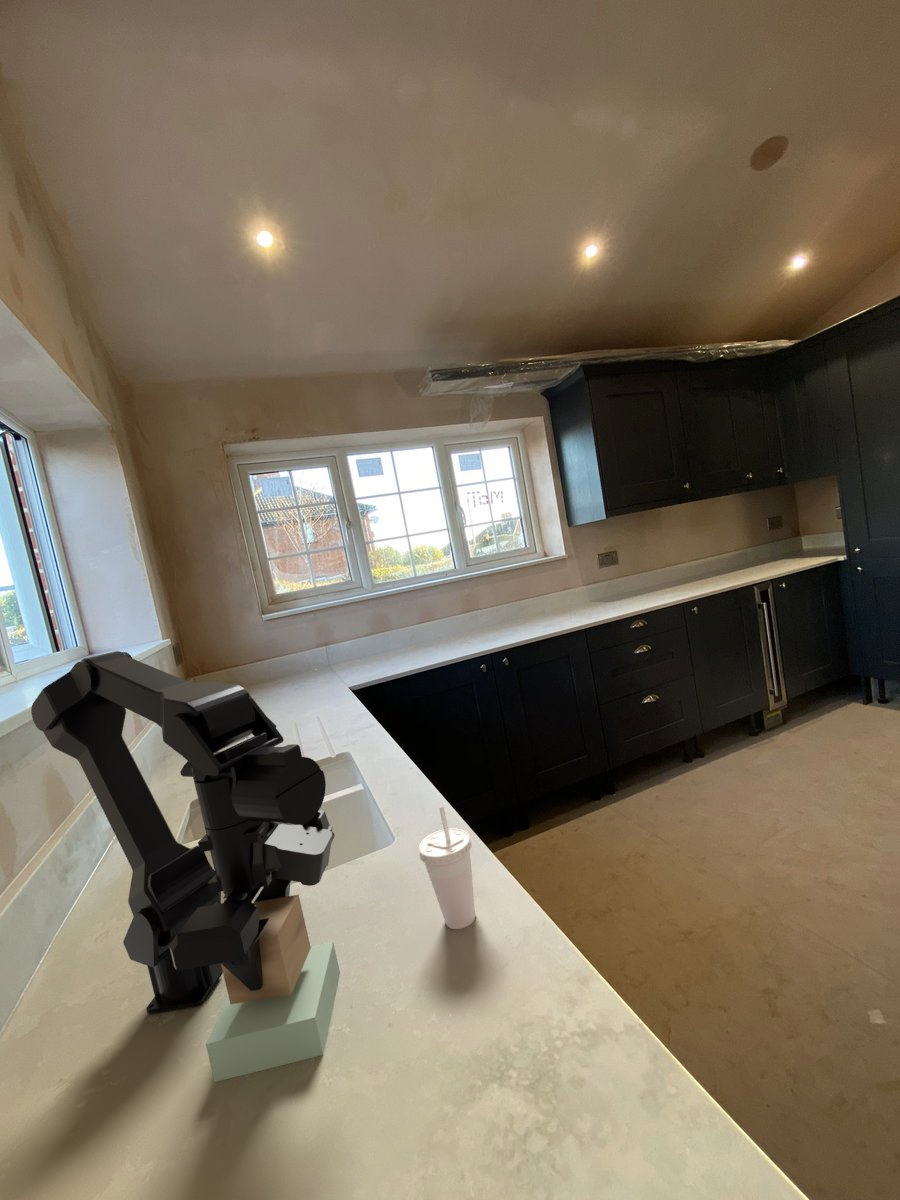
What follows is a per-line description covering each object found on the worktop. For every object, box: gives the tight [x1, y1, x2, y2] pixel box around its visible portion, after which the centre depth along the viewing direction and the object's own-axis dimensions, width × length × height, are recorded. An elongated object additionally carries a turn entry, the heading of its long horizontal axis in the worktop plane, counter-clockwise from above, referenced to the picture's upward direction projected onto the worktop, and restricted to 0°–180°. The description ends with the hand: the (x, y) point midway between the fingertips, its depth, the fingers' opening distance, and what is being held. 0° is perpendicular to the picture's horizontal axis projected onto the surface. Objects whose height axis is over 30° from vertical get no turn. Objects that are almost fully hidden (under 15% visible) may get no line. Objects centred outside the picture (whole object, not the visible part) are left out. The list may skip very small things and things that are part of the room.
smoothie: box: [418, 805, 476, 930], centre depth 62 cm, size 6×6×14 cm
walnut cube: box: [221, 894, 312, 1004], centre depth 52 cm, size 6×6×6 cm
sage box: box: [205, 941, 341, 1083], centre depth 52 cm, size 10×10×4 cm
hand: (269, 963), depth 52 cm, fingers closed on walnut cube, 6 cm apart
